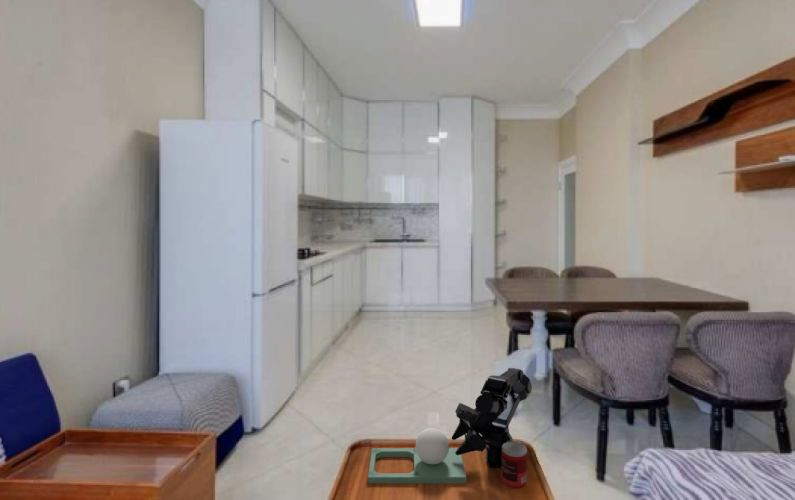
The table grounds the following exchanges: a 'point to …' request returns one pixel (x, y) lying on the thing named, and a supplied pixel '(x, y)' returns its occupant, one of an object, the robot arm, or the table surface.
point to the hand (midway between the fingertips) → (454, 446)
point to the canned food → (514, 464)
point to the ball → (432, 446)
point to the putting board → (418, 468)
